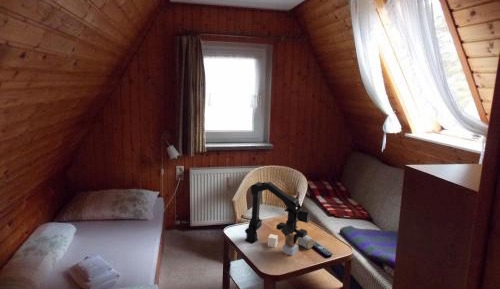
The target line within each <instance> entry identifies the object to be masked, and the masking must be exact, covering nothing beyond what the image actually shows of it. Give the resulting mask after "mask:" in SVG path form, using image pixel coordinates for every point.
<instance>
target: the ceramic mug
mask: <svg viewBox="0 0 500 289" xmlns="http://www.w3.org/2000/svg"><path fill="white" fill-rule="evenodd" d="M314 243H315V240H314V239H313V238H312V237H311V236H310V235H308V234H307V235H306V236H305V237H303V238H301V237H298V239H297V245H300V246H301V247H303V248H305V249H307V250H311V248H313V246H314V245H315V244H314ZM313 244H314V245H313Z"/></svg>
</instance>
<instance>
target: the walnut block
mask: <svg viewBox="0 0 500 289" xmlns="http://www.w3.org/2000/svg"><path fill="white" fill-rule="evenodd" d="M295 234H296V233H293V234H291V233H290V234H289V235H286V236H285V235H284V239H285V242H284V245H288V246H291V247H293V246H294V245H295V244H296V245H297V242H296V243H295V244H294V235H295Z"/></svg>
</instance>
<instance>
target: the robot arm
mask: <svg viewBox="0 0 500 289" xmlns="http://www.w3.org/2000/svg"><path fill="white" fill-rule="evenodd" d="M267 190H268V192H269V193H271V194H273V195H274V196H275V197H277V198H278V199H279V200H281V201H282V202H283V204H284V206H286V208H285V209H284V212H287V219H286V221H285V222H283V221H281V222H279V223H277V224H276V227H275V228H276V229H277V230H279V231H280V232H281V233H282V234H283V236H284V237H285V236H286V235H289V234H290V233H291V234H295V235H294V244H295V243H296V244H297V242H298V238H299V237H301V238H303V237H305V236H306V235H308V231H307V230H306V229H303V228H300V229H298V225H297V223H298V222H303V223H306V224H308V223H309V222H310V219H311V214H310V211H308V210H303V207H302V205H301V204H300V200H299V199H298V198H296V197H294V196H293V195H289V194H287V193H286V192H284V191H283V190H282V189H280V188H279V187H277V186H276V185H275V184H274V183H273V182H271V181H267V182H260V181H258V182H255V183H254V184H252V185H251V186H250V193H251V196H252V207H251V217H250V220H249V223H248V227H247V228H246V229H245V230H244V232H245V234H246V235H245V236H246V237H245V239H244V241H245V242H248V243H250V244H254V243H256V242H258V241H259V238H258V232H257V231H258V230H259V229H261V227H262V222H263V220H262V219H261V218H260V205H261V195H262V193H263V191H267Z"/></svg>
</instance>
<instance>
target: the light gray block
mask: <svg viewBox="0 0 500 289" xmlns="http://www.w3.org/2000/svg"><path fill="white" fill-rule="evenodd" d="M298 252H299V244H297V243H296V244H295V245H294V246H293V247H291V246H288V245H285V244H284V245H282V253H283V254H287V255H289V256H294V255H296V254H297V253H298Z"/></svg>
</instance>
